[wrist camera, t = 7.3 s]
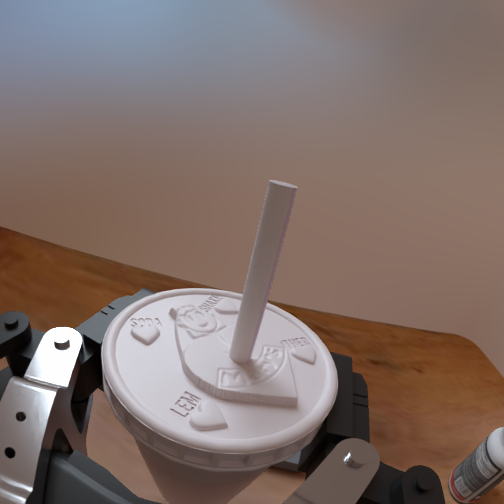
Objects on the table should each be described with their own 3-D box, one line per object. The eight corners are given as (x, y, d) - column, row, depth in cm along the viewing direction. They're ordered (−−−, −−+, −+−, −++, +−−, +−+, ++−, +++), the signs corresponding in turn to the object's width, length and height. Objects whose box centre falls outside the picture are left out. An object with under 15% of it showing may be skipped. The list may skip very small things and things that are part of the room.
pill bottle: (481, 471, 17) (537, 414, 14) (479, 507, 12) (545, 452, 9) (448, 463, 20) (504, 403, 16) (443, 501, 15) (511, 444, 11)
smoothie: (189, 559, 6) (318, 279, 2) (106, 462, 10) (64, 148, 5) (284, 488, 11) (436, 225, 6) (201, 417, 15) (252, 161, 10)
